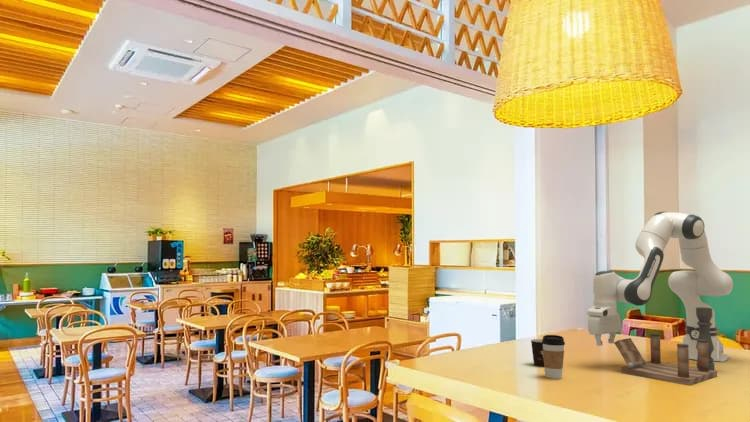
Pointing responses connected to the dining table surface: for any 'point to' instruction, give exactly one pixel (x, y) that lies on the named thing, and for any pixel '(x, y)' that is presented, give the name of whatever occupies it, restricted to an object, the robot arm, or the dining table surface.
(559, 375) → the coffee cup
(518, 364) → the dining table surface
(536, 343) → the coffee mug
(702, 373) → the stool
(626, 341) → the hinged leg
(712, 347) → the candle holder
